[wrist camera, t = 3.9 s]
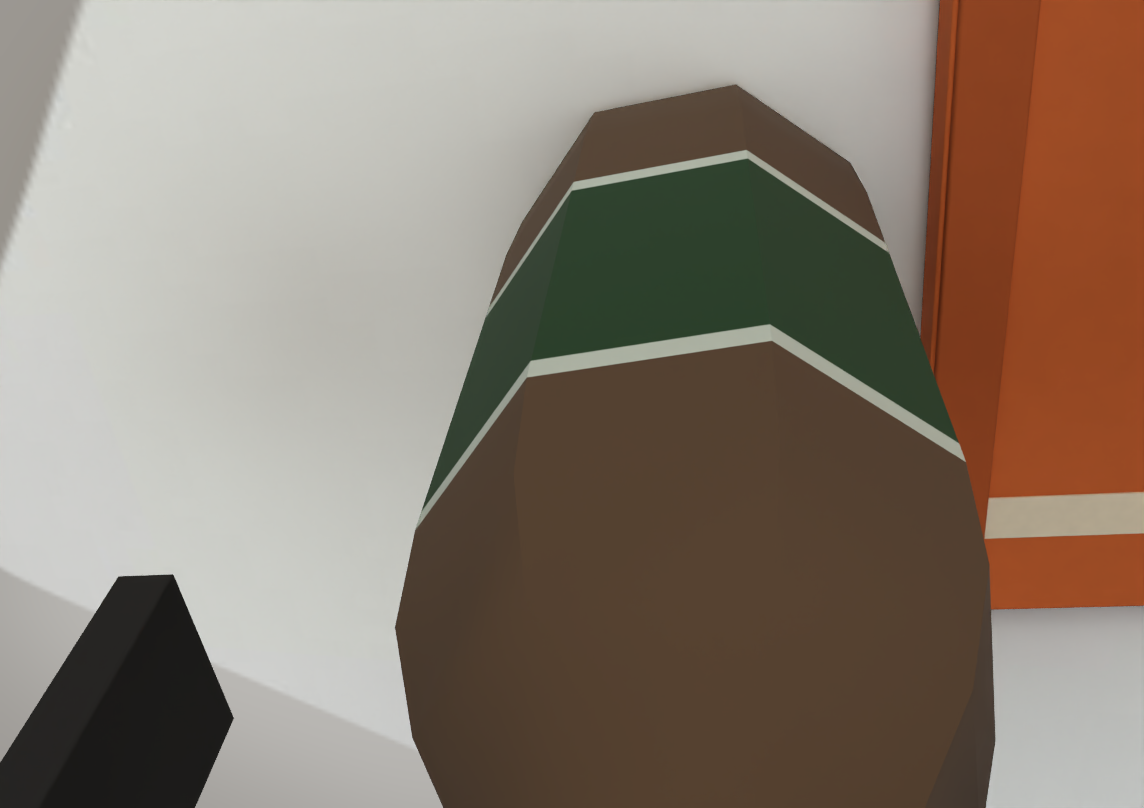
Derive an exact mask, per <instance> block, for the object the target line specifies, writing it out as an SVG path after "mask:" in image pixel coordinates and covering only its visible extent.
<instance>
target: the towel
mask: <svg viewBox="0 0 1144 808" xmlns="http://www.w3.org/2000/svg"><path fill="white" fill-rule="evenodd" d="M921 341H922V344H923V347H924V349H925V352H926V355H927V357H928V360H929V363H930V366H931V368H932V371H933V374H934V376H935V379H936V382H937V385H938V387H939V390H940V393H941V395H942V398H943V401H944V404H945V406H946V409H947V412H948V414H949V417H950V420H951V423H952V425H953V428H954V431H955V433H956V436H957V439H958V442H959V444H960V447H961V450H962V452H963V455H964V458H965V461H966V464H967V468H968V473H969V477H970V481H971V486H972V490H973V495H974V499H975V503H976V508H977V512H978V516H979V521H980V525H981V529H982V534H983V538H984V542H985V547H986V551H987V555H988V560H989V564H990V594H991V610H992V609H1031V608H1071V607H1110V606H1144V0H940V8H939V25H938V43H937V60H936V78H935V95H934V112H933V130H932V147H931V165H930V182H929V199H928V217H927V234H926V252H925V269H924V286H923V304H922V321H921Z"/></svg>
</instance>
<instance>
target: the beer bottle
mask: <svg viewBox="0 0 1144 808" xmlns="http://www.w3.org/2000/svg"><path fill="white" fill-rule="evenodd" d="M395 630H396V636H397V642H398V649H399V655H400V661H401V668H402V674H403V681H404V687H405V693H406V700H407V706H408V712H409V719H410V725H411V731H412V738H413V740H414V742H415V744H416V747H417V749H418V751H419V753H420V756H421V758H422V760H423V762H424V765H425V767H426V769H427V772H428V774H429V776H430V778H431V781H432V783H433V785H434V787H435V790H436V792H437V794H438V796H439V799H440V801H441V803H442V805H443V808H985V807H986V800H987V794H988V787H989V780H990V773H991V766H992V759H993V753H994V746H995V717H994V686H993V655H992V625H991V594H990V564H989V560H988V555H987V551H986V547H985V542H984V538H983V534H982V529H981V525H980V521H979V516H978V512H977V508H976V503H975V499H974V495H973V490H972V486H971V481H970V477H969V473H968V468H967V464H966V461H965V458H964V455H963V452H962V450H961V447H960V444H959V442H958V439H957V436H956V433H955V431H954V428H953V425H952V423H951V420H950V417H949V414H948V412H947V409H946V406H945V404H944V401H943V398H942V395H941V393H940V390H939V387H938V385H937V382H936V379H935V376H934V374H933V371H932V368H931V366H930V363H929V360H928V357H927V355H926V352H925V349H924V347H923V344H922V341H921V338H920V336H919V333H918V330H917V328H916V325H915V322H914V319H913V317H912V314H911V311H910V309H909V306H908V303H907V300H906V298H905V295H904V292H903V290H902V287H901V284H900V281H899V279H898V276H897V273H896V271H895V268H894V265H893V262H892V260H891V257H890V254H889V252H888V249H887V246H886V243H885V241H884V238H883V235H882V233H881V230H880V227H879V224H878V222H877V219H876V216H875V214H874V211H873V208H872V205H871V203H870V200H869V197H868V195H867V192H866V190H865V189H864V187H863V185H862V183H861V181H860V180H859V178H858V176H857V174H856V172H855V171H854V169H853V167H852V165H851V163H850V162H848V161H847V160H845V159H844V158H842V157H841V156H839V155H838V154H836V153H835V152H834V151H832V150H831V149H829V148H828V147H826V146H825V145H823V144H822V143H820V142H819V141H818V140H816V139H815V138H813V137H812V136H810V135H809V134H807V133H806V132H804V131H803V130H801V129H800V128H799V127H797V126H796V125H794V124H793V123H791V122H790V121H788V120H787V119H785V118H784V117H782V116H781V115H780V114H778V113H777V112H775V111H774V110H772V109H771V108H769V107H768V106H766V105H765V104H764V103H762V102H761V101H759V100H758V99H756V98H755V97H753V96H752V95H750V94H749V93H747V92H746V91H745V90H743V89H742V88H740V87H739V86H737V85H732V86H727V87H722V88H717V89H712V90H706V91H701V92H696V93H691V94H686V95H681V96H676V97H671V98H666V99H661V100H656V101H651V102H645V103H640V104H635V105H630V106H625V107H620V108H615V109H610V110H605V111H600V112H595V113H594V114H593V115H592V117H591V118H590V120H589V121H588V123H587V124H586V126H585V127H584V129H583V130H582V132H581V134H580V135H579V137H578V138H577V140H576V141H575V143H574V144H573V146H572V147H571V149H570V150H569V152H568V153H567V155H566V156H565V158H564V159H563V161H562V162H561V164H560V165H559V167H558V168H557V170H556V171H555V173H554V175H553V176H552V178H551V179H550V181H549V182H548V184H547V185H546V187H545V188H544V190H543V191H542V193H541V194H540V196H539V197H538V199H537V200H536V202H535V203H534V205H533V206H532V208H531V209H530V211H529V212H528V214H527V216H526V217H525V219H524V220H523V222H522V224H521V226H520V228H519V230H518V232H517V234H516V236H515V238H514V240H513V242H512V244H511V247H510V249H509V251H508V253H507V255H506V258H505V261H504V264H503V267H502V270H501V273H500V276H499V279H498V282H497V285H496V288H495V291H494V294H493V297H492V300H491V303H490V306H489V309H488V312H487V315H486V318H485V321H484V324H483V327H482V330H481V333H480V336H479V339H478V342H477V345H476V348H475V351H474V354H473V357H472V361H471V364H470V367H469V370H468V373H467V376H466V379H465V382H464V385H463V388H462V391H461V394H460V397H459V400H458V403H457V406H456V409H455V412H454V415H453V418H452V421H451V424H450V427H449V430H448V433H447V436H446V439H445V442H444V445H443V448H442V451H441V454H440V457H439V460H438V463H437V466H436V469H435V472H434V475H433V478H432V481H431V484H430V487H429V490H428V493H427V496H426V499H425V502H424V506H423V509H422V512H421V515H420V518H419V521H418V524H417V527H416V530H415V534H414V539H413V544H412V549H411V553H410V558H409V563H408V568H407V573H406V578H405V582H404V587H403V592H402V597H401V602H400V607H399V611H398V616H397V621H396V626H395Z"/></svg>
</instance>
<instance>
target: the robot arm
mask: <svg viewBox="0 0 1144 808" xmlns="http://www.w3.org/2000/svg"><path fill="white" fill-rule="evenodd" d="M233 719H234V718H233V715H232V713H231V710H230V708H229V706H228V703H227V701H226V699H225V696H224V694H223V692H222V689H221V687H220V684H219V682H218V680H217V677H216V675H215V673H214V670H213V668H212V665H211V663H210V661H209V658H208V656H207V653H206V651H205V649H204V646H203V644H202V642H201V639H200V637H199V635H198V632H197V630H196V627H195V625H194V623H193V620H192V618H191V616H190V613H189V611H188V608H187V606H186V604H185V601H184V599H183V597H182V594H181V592H180V590H179V587H178V585H177V582H176V580H175V578H174V575H148V576H122V577H118V578H117V580H116V581H115V583H114V585H113V586H112V588H111V589H110V591H109V592H108V594H107V596H106V597H105V599H104V600H103V602H102V603H101V605H100V607H99V608H98V610H97V611H96V613H95V614H94V616H93V618H92V619H91V621H90V622H89V624H88V625H87V627H86V629H85V630H84V632H83V633H82V635H81V636H80V638H79V640H78V641H77V643H76V644H75V646H74V647H73V649H72V651H71V652H70V654H69V655H68V657H67V659H66V660H65V662H64V663H63V665H62V667H61V668H60V670H59V671H58V673H57V674H56V676H55V677H54V679H53V681H52V682H51V684H50V685H49V687H48V688H47V690H46V692H45V693H44V695H43V696H42V698H41V699H40V701H39V703H38V704H37V706H36V707H35V709H34V711H33V712H32V714H31V715H30V717H29V719H28V720H27V722H26V723H25V725H24V726H23V728H22V729H21V731H20V732H19V734H18V736H17V737H16V739H15V740H14V742H13V743H12V745H11V747H10V748H9V750H8V752H7V753H6V755H5V756H4V758H3V759H2V761H1V762H0V808H195V806H196V804H197V801H198V799H199V797H200V795H201V792H202V790H203V788H204V785H205V783H206V781H207V778H208V776H209V774H210V772H211V769H212V767H213V765H214V762H215V760H216V758H217V756H218V753H219V751H220V749H221V746H222V744H223V742H224V739H225V737H226V735H227V733H228V730H229V728H230V726H231V723H232V721H233Z"/></svg>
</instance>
